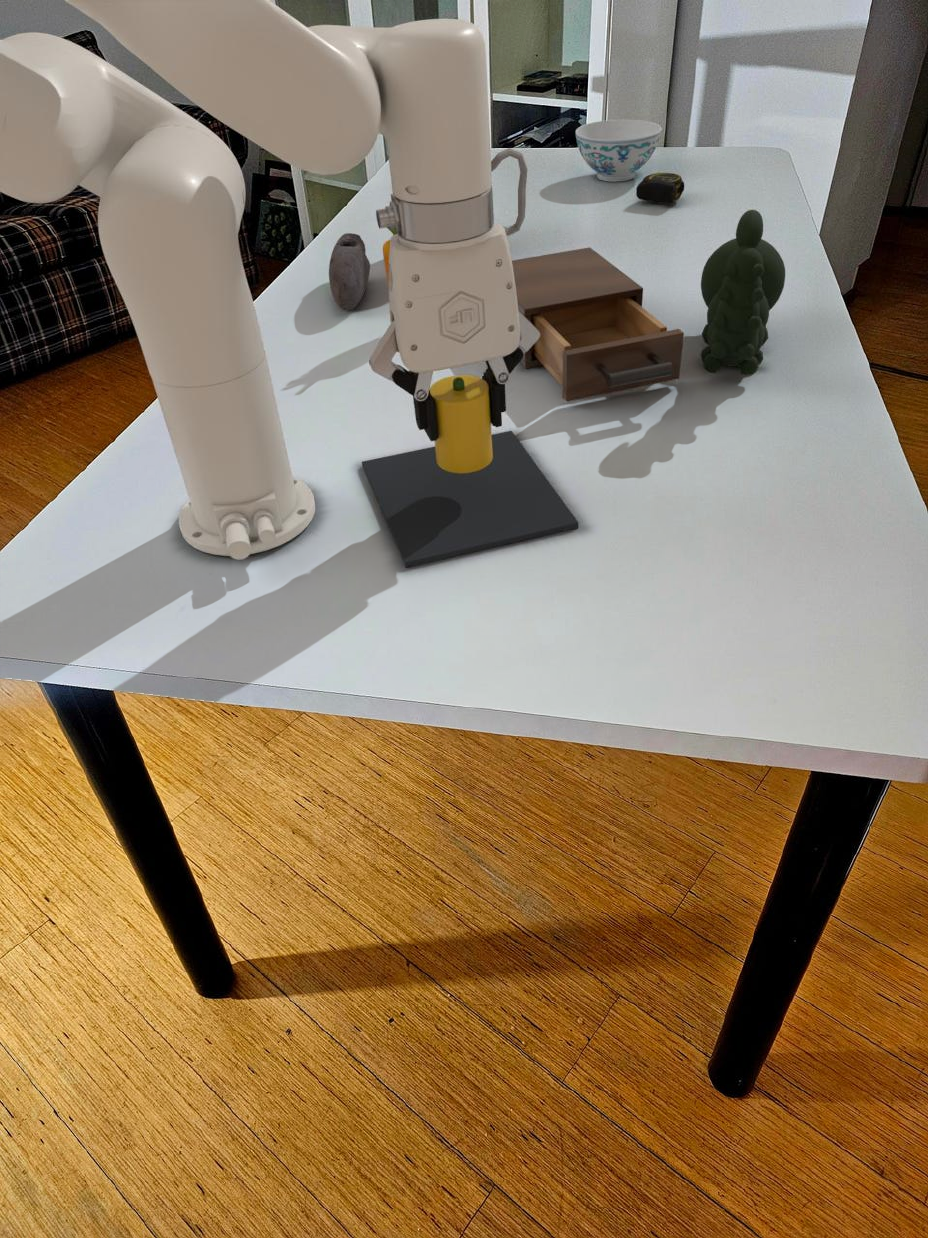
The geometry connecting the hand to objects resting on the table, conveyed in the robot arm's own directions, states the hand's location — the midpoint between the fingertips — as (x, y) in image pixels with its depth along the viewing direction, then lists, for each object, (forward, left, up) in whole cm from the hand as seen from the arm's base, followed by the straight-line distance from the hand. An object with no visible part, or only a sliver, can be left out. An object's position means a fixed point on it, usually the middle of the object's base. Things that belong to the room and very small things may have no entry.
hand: (461, 425), depth 80 cm
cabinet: (+31, -22, -7) cm, 39 cm away
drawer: (+17, -22, -7) cm, 28 cm away
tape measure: (+73, -57, -8) cm, 93 cm away
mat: (0, 0, -7) cm, 7 cm away
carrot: (+40, -5, -8) cm, 41 cm away
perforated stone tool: (+54, 0, -8) cm, 55 cm away
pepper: (0, 0, -3) cm, 3 cm away
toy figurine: (+18, -38, -8) cm, 43 cm away
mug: (+65, -20, -8) cm, 68 cm away
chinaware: (+91, -57, -8) cm, 108 cm away
